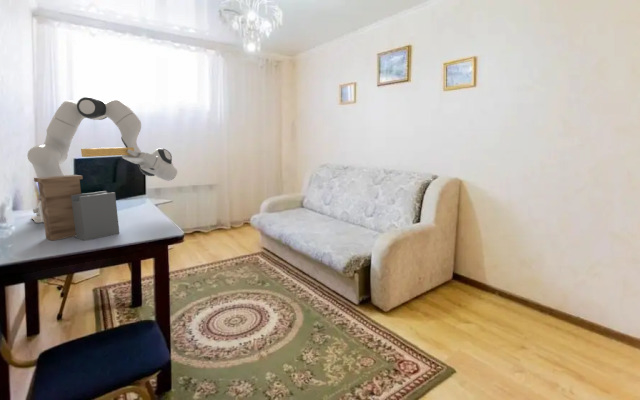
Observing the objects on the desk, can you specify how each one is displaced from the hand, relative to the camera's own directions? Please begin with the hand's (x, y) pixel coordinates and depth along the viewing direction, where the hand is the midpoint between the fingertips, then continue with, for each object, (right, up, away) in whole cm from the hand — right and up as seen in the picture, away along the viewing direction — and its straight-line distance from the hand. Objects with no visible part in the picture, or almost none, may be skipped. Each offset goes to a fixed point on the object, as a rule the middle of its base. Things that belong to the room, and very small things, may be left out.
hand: (124, 150), depth 170 cm
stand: (-16, -40, -17) cm, 46 cm away
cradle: (-2, -40, -16) cm, 43 cm away
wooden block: (-4, -3, -6) cm, 8 cm away
